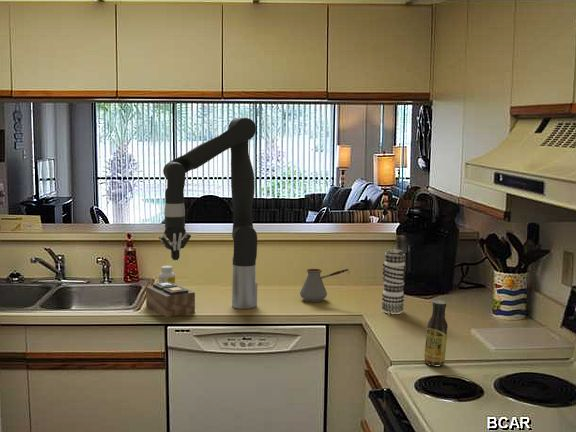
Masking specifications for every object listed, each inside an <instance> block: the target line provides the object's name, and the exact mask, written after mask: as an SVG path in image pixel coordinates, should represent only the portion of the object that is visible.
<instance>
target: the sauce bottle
mask: <svg viewBox="0 0 576 432" xmlns="http://www.w3.org/2000/svg"><path fill="white" fill-rule="evenodd" d="M446 308H447V302H446V301H443V300H433V301H432V313H431V317H430V319H429V320H428V323H427V327H426V334H425V343H424V344H425V345H424V356H423V358H424V360H425V361H424V363H425V362H426V363H427V364H430V365H442V364H443V365H444V363H445V361H446V349H447V340H448V339H447V338H448V328H449V326H448V322H447V320H446ZM426 363H425V364H426ZM427 364H426V365H427ZM430 365H429V366H430ZM443 365H442V366H443Z"/></svg>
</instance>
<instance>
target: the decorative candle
mask: <svg viewBox="0 0 576 432" xmlns="http://www.w3.org/2000/svg"><path fill="white" fill-rule="evenodd" d="M384 255H385V257H384V263H382V267H383V268H382V275H383V276H382V279H383V280H382V283H383V285H384V286H383V293H382V302H381V305H382V306H381V309H382V310H383V311H385V312H388V313H399V312H401V311H403V310H404V301H405V300H404V298H405V295H404V285H405V280H406V277H405V276H407V275H406V273H405V272H406V271H407V269H406V267H407V265H406V263H405V262H406V261H405V257H406V254H405V253H404V252H403V250H401V249H397V248H394V249H393V248H391V249H388V250H387V251H386V252H385V253H384Z"/></svg>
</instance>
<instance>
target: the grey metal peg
mask: <svg viewBox="0 0 576 432" xmlns="http://www.w3.org/2000/svg"><path fill="white" fill-rule="evenodd" d="M158 285H160V286H162V287H164V286H172V284H169V283H161V284H158Z"/></svg>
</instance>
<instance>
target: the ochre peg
mask: <svg viewBox="0 0 576 432" xmlns="http://www.w3.org/2000/svg"><path fill="white" fill-rule="evenodd" d="M168 290H170V291H180V290H183V289H181V288H179V287H176V288H168Z"/></svg>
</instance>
